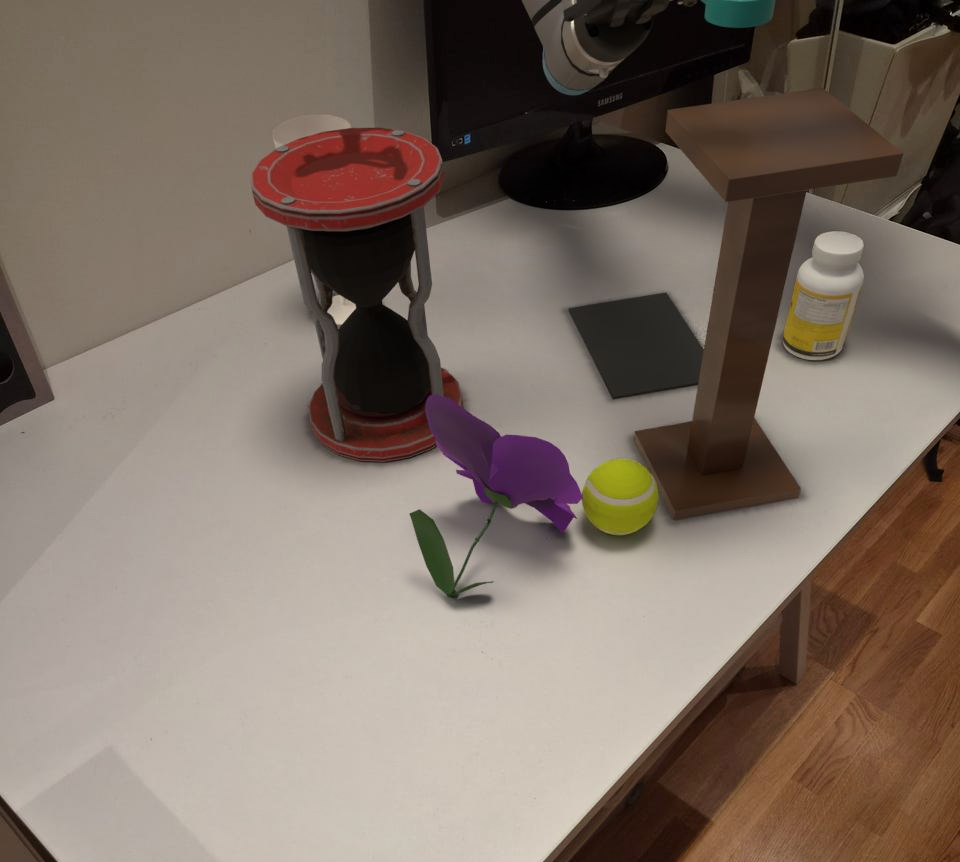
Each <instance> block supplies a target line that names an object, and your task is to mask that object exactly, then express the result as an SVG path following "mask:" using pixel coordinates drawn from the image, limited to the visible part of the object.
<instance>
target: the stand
mask: <svg viewBox="0 0 960 862" xmlns="http://www.w3.org/2000/svg"><path fill="white" fill-rule="evenodd" d="M665 133H666V134H667V135H668V137H669V138H670V140H672V141H673V142H674V143H675V145H676V146H677V147H678V149H680V150H681V152H682V153H683V155H684V156H685V157H686V158H687V159H688V160H689V162H690V163H691V164H692V165H693V166H694V167H695V168H696V169H697V171H698V172H699V173H700V174H701V175H702V177H703V178H704V179H705V180H706V181H707V183H708V184H709V185H710V186H711V187H712V189H713V190H714V191H715V192H716V194H717V195H719V197H720V198H721V199H722V200H723V201H724V203H727V205H726V206H727V207H726V212H725V219H724V224H723V230H722V236H721V244H720V249H719V254H718V259H717V260H718V261H717V266H716V272H715V279H714V284H713V291H712V297H711V304H710V309H709V316H708V321H707V327H706V334H705V340H704V345H703V349H704V351H703V358H702V364H701V370H700V376H699V382H698V385H697V387H696V394H695V400H694V406H693V413H692V419H691V420H690V421H686V422H679V423H673V424H667V425H663V426H656V427H650V428H645V429H639V430H634V434H633V442H634V444H635V446H636V448H637V450H638V452H639V454H640V456H641V458H642V460H643V462H644V464H645V467H646V468H647V469H648V471H649V472H650V473H651V474H652V476H653V477H654V479H655V481H656V484H657V487H658V493H659V494H660V496H661V498H662V500H663V502H664V504H665V507H666V508H667V510H668V512H669V514H670V516H671V518H672V520H673V521H678V520H679V521H680V520H685V519H690V518H695V517H701V516H702V517H703V516H706V515H712V514H718V513H723V512H728V511H734V510H739V509H745V508H750V507H755V506H762V505H767V504H772V503H777V502H782V501H783V502H784V501H788V500H793V499H799V497H800V494H801V491H802V487H801V486H800V484H799V483H798V481H797V480H796V478H795V476H794V475H793V474H792V473H791V470H790V469H789V468H788V467H787V465H786V463H785V462H784V459H782V457H781V456H780V454H779V453H778V450H777V449H776V448H775V446H774V445H773V443H772V442H771V441H770V439H769V437H768V436H767V434H766V433H765V431H764V430H763V429H762V427H761V426H760V424H759V422H758V421H757V419H756V418H755V416H756V411H757V408H758V403H759V400H760V394H761V389H762V386H763V381H764V377H765V373H766V368H767V366H768V365H767V364H768V360H769V355H770V351H771V346H772V342H773V338H774V334H775V329H776V325H777V321H778V317H779V314H780V313H779V312H780V307H781V304H782V300H783V295H784V290H785V287H786V282H787V277H788V273H789V269H790V264H791V260H792V255H793V252H794V247H795V242H796V238H797V234H798V230H799V226H800V221H801V217H802V213H803V208H804V204H805V199H806V195H807V192H808V191H809V190H816V189H823V188H828V187H829V188H830V187H836V186H843V185H849V184H854V183H861V182H869V181H876V180H882V179H888V178H896V177H897V176H898V172H899V170H900V165H901V163H902V159H903V157H904V152H903V151H901V150H900V149H899V147H896V145H894V144H893V143H892V142H890V141H889V140H888V139H887V138H886V137H884V136H883V135H882V134H880V133H879V132H878V131H877V130H875V129H874V128H873V126H871V125H870V124H868V123H867V122H865V121H864V120H863V119H862V118H861V117H860V116H859V115H857V114H856V113H855V112H854V111H852V110H851V109H850V108H848V107H847V106H846V105H845V104H843V103H842V102H841V101H839V99H837V98H836V97H834V96H833V95H832V94H831V93H830V92H828V91H827V90H826V89H825V88H824V87H818V88H812V89H805V90H798V91H791V92H784V93H783V92H782V93H777V94H770V95H762V96H756V97H749V98H748V97H747V98H742V99H741V98H740V99H734V100H727V101H721V102H715V103H707V104H701V105H700V104H699V105H693V106H685V107H679V108H672V109H667V111H666V121H665Z"/></svg>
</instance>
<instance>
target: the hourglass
mask: <svg viewBox="0 0 960 862" xmlns="http://www.w3.org/2000/svg"><path fill="white" fill-rule="evenodd" d="M444 174H445V173H444V165H443V159H442V155H441V153H440V150H439V148H438V147H437V146H435V145H434V144H433V143H431V142H430V141H429V140H427V139H426V138H425V137H422V136H421V135H417V134H414V133H412V132H408V131H405V130H402V129H392V128H387V127H386V128H385V127H351V128H347V129H340V130H332V131H325V132H321V133H317V134H314V135H310V136H306V137H303V138H299V139H296V140H294V141H292V142H290V143H287V144H285V145H283V146H280V147H277V148H275V149H273V150H272V151H269V153H268V154H266V155H265V156H264V157H262V158H261V159H259V160H258V162H257V164H256V165H255V167H254V168H253V170H252V171H251V173H250V174H249V175H250V189H251V193H252V197H253V201H254V205H255V206H256V207H257V209H258V210H259V211H260V212H261V213H262V214H263V216H265V218H267V219H270V220H272V221H274V222H277V223H279V224H281V225H282V226H285V227H286V230H287V234H288V239H289V243H290V248H291V252H292V255H293V260H294V265H295V269H296V273H297V279H298V282H299V288H300V291H301V292H300V293H301V296H302V300H303V304H304V306H305V308H306V309H307V311H308V313H309V315H310V316H311V317H313V322H314V326H315V332H316V335H317V340H318V345H319V348H320V354H321V358H322V362H321V374H320V375H321V384H320V385H319V386H318V387H317V388H316V389H315V390H314V392H313V394H312V397H311V399H310V402H309V404H308V415H309V422H310V427H311V429H312V433H313V434H314V435H315V437H316V438H317V440H318V442H319V443H320V444H321V445H322V446H323V447H325V448H326V449H328V450H329V451H331V452H333V453H334V454H336V455H338V456H340V457H344V458H347V459H348V458H349V459H351V460H355V461H358V462H359V461H361V462H379V463H385V462H390V461H391V462H392V461H398V460H404V459H409V458H412V457H415V456H417V455H419V454H422V453H424V452H427V451H430V450H432V449H434V448H435V447H437V445H436V439H435V437H434V435H433V434H432V432H431V431H430V427H429V424H428V420H427V416H426V411H425V407H426V401H427V399H428V397H429V396H430V395H434V394H437V395H441V396H444V397H447V398H450V399H452V400H453V401H454V402H456V403H457V404H458V405H460V406H461V407H462V408H464V400H463V399H464V398H463V392H462V390H461V386H460V383H459V381H458V380H457V379H456V378H455V377H454V376H453V375H452V374H451V373H450V372H449V371H448V370H447V369H445V368H444V367H442V365H441V358H440V356H439V353H438V350H437V348H436V346H435V344H434V343H433V341H432V339H431V338H430V337H429V334H428V324H427V315H426V307H425V304H426V302H427V301H428V300H429V298H430V295H431V291H432V287H433V280H432V279H433V278H432V269H431V261H430V252H429V251H430V249H429V244H428V242H429V241H428V233H427V225H426V215H425V206H426V205H427V204H428V203H429V202H430V201H431V200H432V199H433V198H434V197H436V196H437V194H438V193H440V191H441V188H442V185H443V182H444V180H445V175H444ZM414 255H415V263H416V271H417V280H418V281H417V283H418V286H417V290H416V289H415V287H414V283H413V278H412V259H413V257H414ZM314 282H315V283H314ZM397 284H398V287H399V289H400V292H401V294H403V295H404V296H405V297H406V298H407V299H408V300H409V305H408V312H407V319H406V318H405V317H404V316H403V315H401V314H399V312H396V311H395V310H393V309H392V308H391V307H388V306H387V305H385V304H384V303H383V300H384V299H385V298H386V297H387V296H388V295H389V294H390V292H392V290H393V289H394V288H395V287H396V286H397ZM315 286H316V288H315ZM316 289H317V291H318V297H317V293H316ZM333 292H334V293H336V294H337V295H341V296H342V297H344V298H346V299H347V300H349V301H351V302H352V303H354V304H355V305H356V309H355V310H354V311H353V312H352V313H351V314H350V315H349V317H348V318H347V319H346V320H345V322H344V323H343V324H340V326H339V327H338V324H336V323H335V320H334V318H333V316H332V315H331V314H329V313H328V312H327V311H328V309H329V308H330V307H331V305H332V297H334V296H333V295H334V294H333Z"/></svg>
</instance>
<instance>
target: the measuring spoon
mask: <svg viewBox="0 0 960 862" xmlns="http://www.w3.org/2000/svg"><path fill="white" fill-rule="evenodd" d="M700 2H702V3H703V4H705V7H704V8H705V9H704V19H705V21H706V22H707V23H710V24H712V25H715V26H718V27H722V28H723V27H724V28H732V29H743V28H753V27H759V26H762V25H764V24H765V25H766V24H767V23H769V22H770V21H772V19H773V16H774V11H775V4H776V0H700Z"/></svg>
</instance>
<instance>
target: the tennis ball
mask: <svg viewBox="0 0 960 862" xmlns="http://www.w3.org/2000/svg"><path fill="white" fill-rule="evenodd" d="M581 494H582V496H583V499H582V500H581V503H582V509H583V512H584V514H585V516H586V518H587V519H588V521H589V522H590V523H591V524H592V525H593V526H594V527H595V528H597V529H598V530H600V531H601V532H603V533H605V534H609V535H612V536H626V535H630V534H633V533H635V532H637V531H639V530H640V529H642V528H643V527H644V526H645V527H646V525H647V524H648V523H649V522H650V521H651V520H652V519H653V516H654V515H655V513H656V511H657V508H658V504H659V490H658V487H657V484H656V481H655V479H654V477H653V476H652V474H651V473H650V472H649V470H648V468H647V466H646V465H644V464H642V463H639V462H638V461H636V460H633V459H630V458H613V459H609V460H606V461H604V462H603V463H601V464H598V466H596V467H595V468H594V469H593V470H592V471H591V472H590V473H589V475H588V476H587V478H586V480H585V483H584V486H583V488H582V492H581Z"/></svg>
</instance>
